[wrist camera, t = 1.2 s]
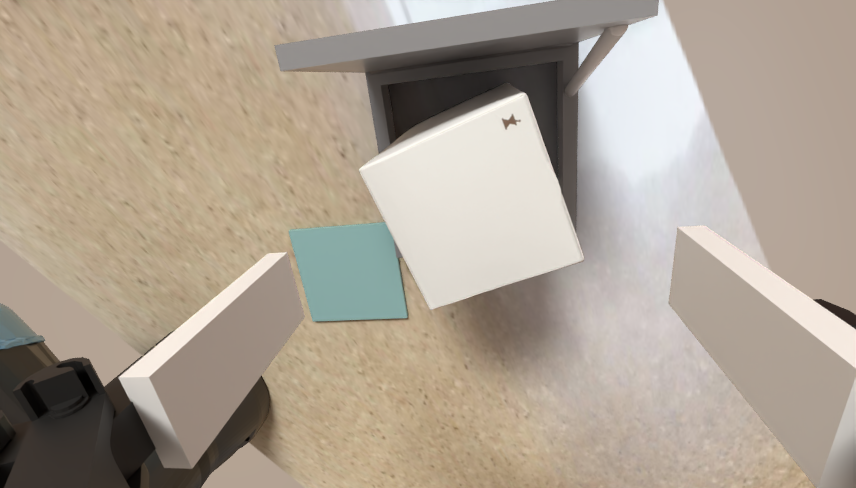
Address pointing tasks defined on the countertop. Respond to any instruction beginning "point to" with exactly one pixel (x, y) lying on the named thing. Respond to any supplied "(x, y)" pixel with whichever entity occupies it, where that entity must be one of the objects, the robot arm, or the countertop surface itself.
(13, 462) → the robot arm
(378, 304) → the mat
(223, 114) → the countertop surface
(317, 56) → the case
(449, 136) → the supplement box
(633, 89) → the countertop surface
